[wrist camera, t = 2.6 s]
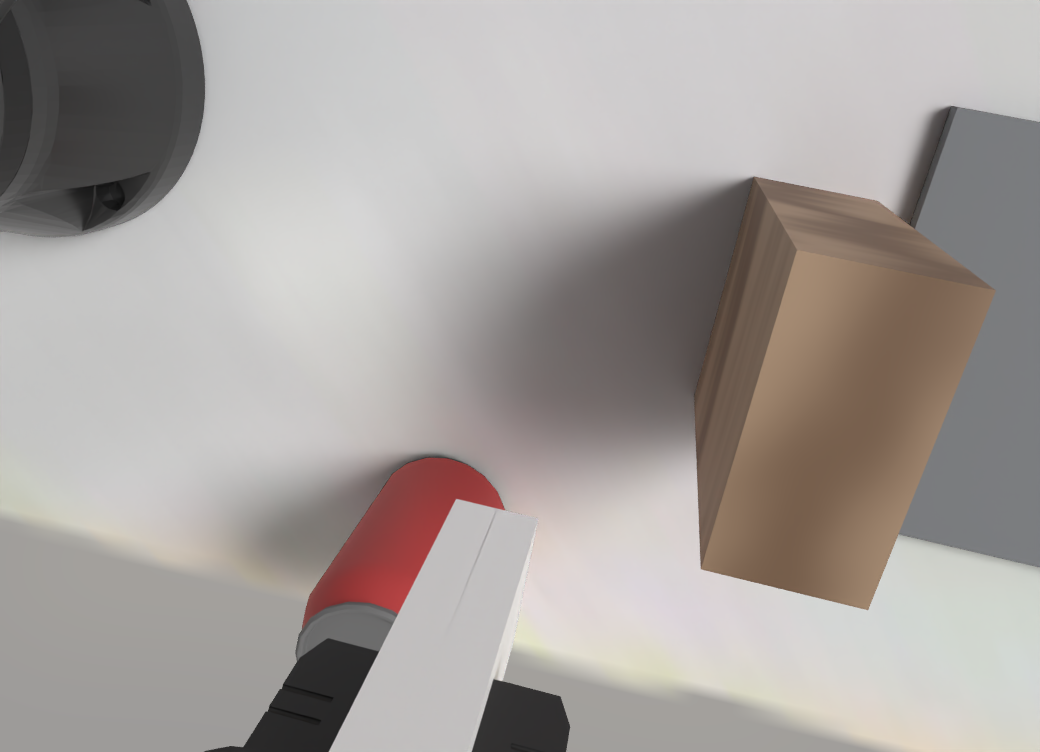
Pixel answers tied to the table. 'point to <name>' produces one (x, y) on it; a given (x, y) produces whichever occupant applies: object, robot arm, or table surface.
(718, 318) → the walnut block
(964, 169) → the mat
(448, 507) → the beer can
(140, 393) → the table surface
